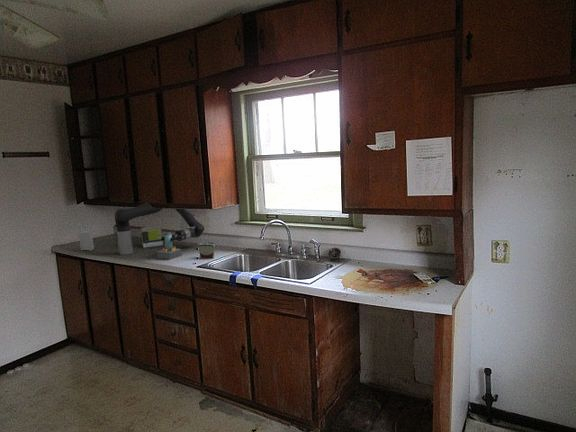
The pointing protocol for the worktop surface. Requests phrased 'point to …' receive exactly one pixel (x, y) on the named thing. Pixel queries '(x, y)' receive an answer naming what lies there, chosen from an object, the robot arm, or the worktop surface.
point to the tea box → (151, 236)
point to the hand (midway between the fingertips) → (166, 239)
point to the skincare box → (86, 240)
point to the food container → (206, 250)
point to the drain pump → (168, 241)
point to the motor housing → (169, 253)
